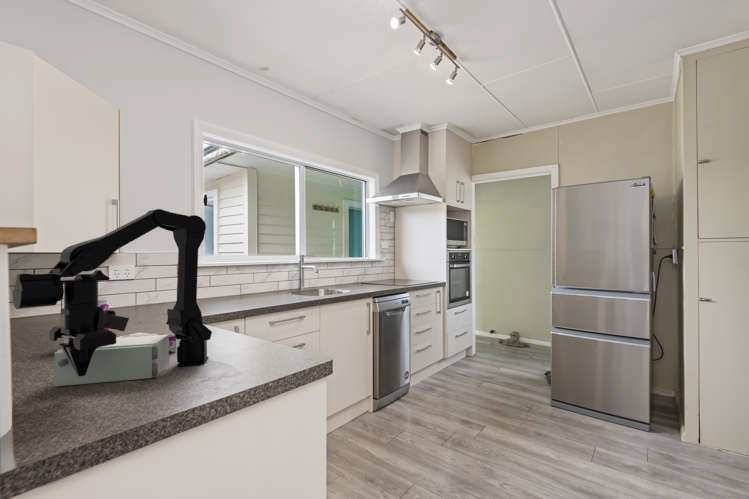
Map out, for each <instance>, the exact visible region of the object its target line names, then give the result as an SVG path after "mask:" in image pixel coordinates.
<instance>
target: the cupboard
mask: <svg viewBox="0 0 749 499" xmlns="http://www.w3.org/2000/svg"><path fill="white" fill-rule="evenodd" d="M169 335H170V334H163V335H154V336H138V337H122V338H116V344H113V345H108V346H102V347H98V348H97V349H102V348H117V347H132V346H147V345H153V347H154V346H158V359H153V363H158V375H157V376H153V377H152V378H155V377H158V376H159V375H160V374H161V373H163V371H164V370H165V369H166V368H167V367H168V366H169V365H170V353H169ZM58 351H63V350H62V349H61V348H60V349H58V350H57V352H58Z"/></svg>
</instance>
